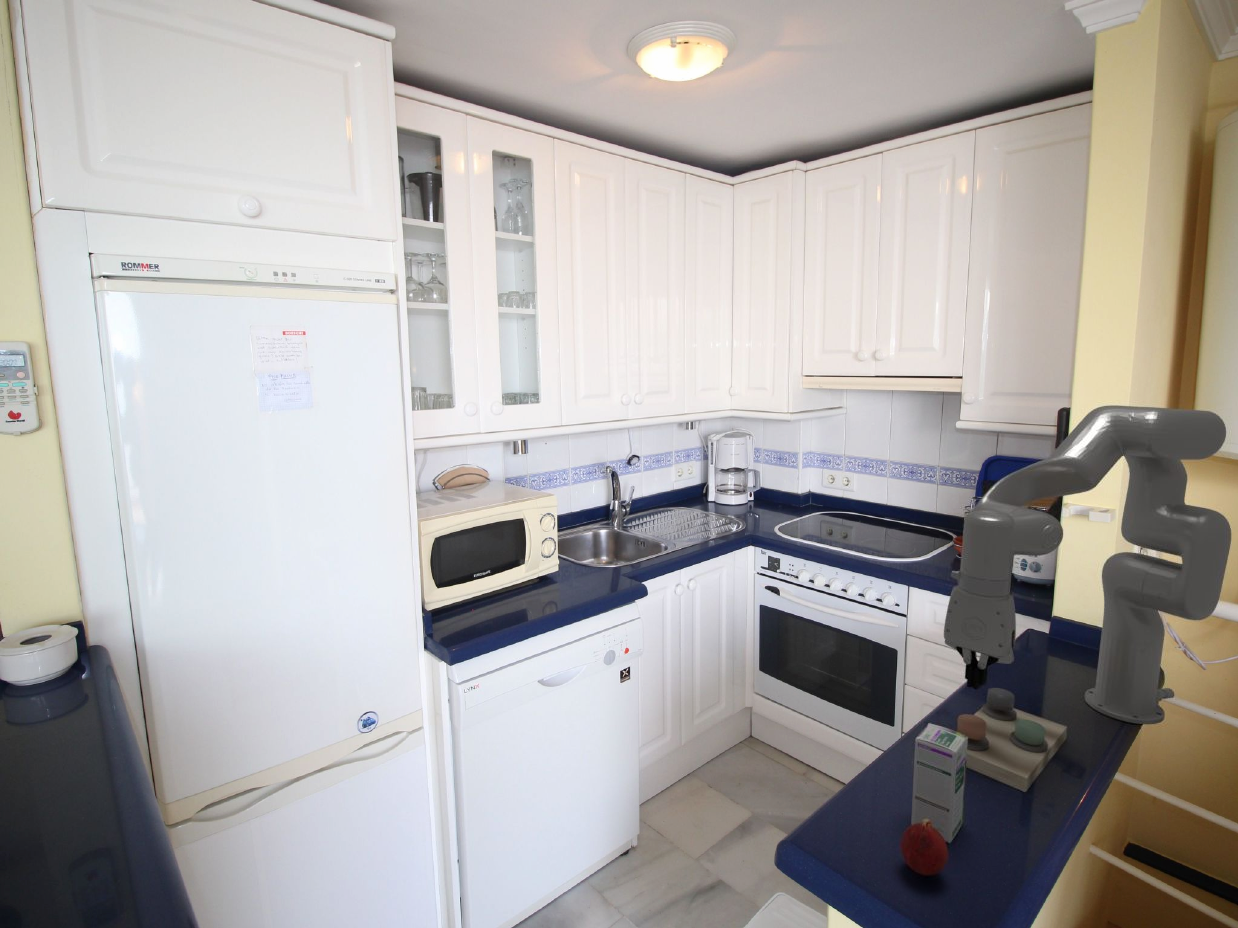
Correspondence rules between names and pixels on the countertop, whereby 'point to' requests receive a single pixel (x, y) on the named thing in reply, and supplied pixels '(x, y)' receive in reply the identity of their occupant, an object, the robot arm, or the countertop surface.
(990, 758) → the button panel
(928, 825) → the onion
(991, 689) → the charcoal button
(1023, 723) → the green button
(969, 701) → the countertop surface
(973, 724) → the terracotta button
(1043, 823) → the countertop surface
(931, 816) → the syrup box
